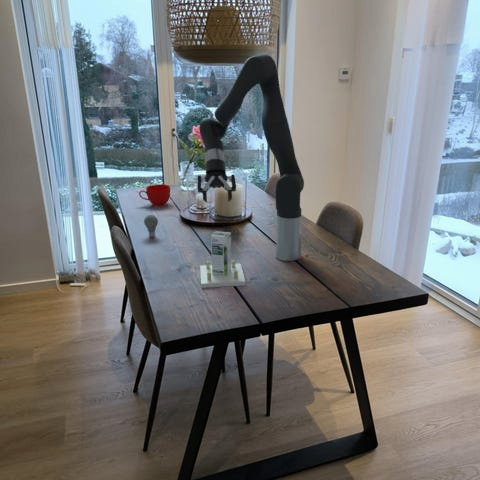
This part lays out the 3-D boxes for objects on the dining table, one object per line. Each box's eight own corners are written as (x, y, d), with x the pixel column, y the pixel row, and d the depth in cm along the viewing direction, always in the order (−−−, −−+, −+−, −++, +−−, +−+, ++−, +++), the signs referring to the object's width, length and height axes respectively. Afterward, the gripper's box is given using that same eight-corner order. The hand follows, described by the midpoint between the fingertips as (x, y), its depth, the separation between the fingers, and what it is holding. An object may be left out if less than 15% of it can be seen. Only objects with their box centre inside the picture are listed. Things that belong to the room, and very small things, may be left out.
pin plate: (240, 267, 163) (240, 257, 162) (245, 285, 149) (245, 274, 148) (200, 269, 162) (199, 259, 160) (201, 287, 148) (200, 277, 146)
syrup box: (211, 274, 154) (210, 235, 149) (216, 267, 159) (215, 230, 154) (226, 276, 152) (226, 237, 147) (231, 269, 158) (231, 231, 153)
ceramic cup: (139, 203, 244) (137, 186, 240) (169, 200, 249) (168, 183, 245) (141, 209, 232) (139, 191, 229) (173, 206, 237) (171, 189, 234)
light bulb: (145, 239, 191) (143, 217, 187) (144, 234, 196) (143, 213, 193) (159, 238, 192) (158, 216, 189) (158, 233, 198) (156, 212, 194)
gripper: (196, 158, 162) (198, 196, 155) (234, 157, 163) (237, 195, 157) (196, 169, 169) (198, 206, 162) (233, 168, 170) (236, 205, 163)
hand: (217, 200), depth 159 cm, fingers open, 8 cm apart
